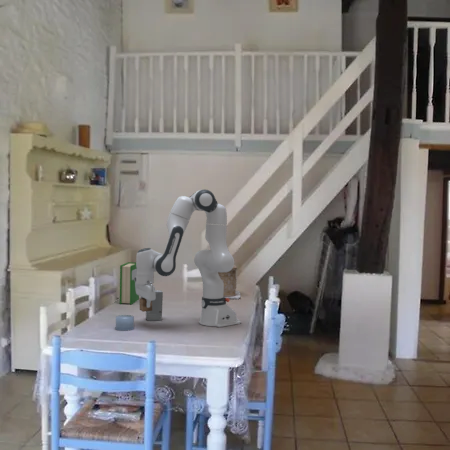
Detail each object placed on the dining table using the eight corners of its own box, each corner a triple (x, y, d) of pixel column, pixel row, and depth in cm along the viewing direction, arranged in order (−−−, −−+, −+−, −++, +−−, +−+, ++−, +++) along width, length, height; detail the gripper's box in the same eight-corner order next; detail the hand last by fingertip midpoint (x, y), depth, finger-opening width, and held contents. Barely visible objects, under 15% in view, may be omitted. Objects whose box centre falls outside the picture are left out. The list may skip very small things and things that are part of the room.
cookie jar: (240, 299, 359) (241, 251, 357) (203, 298, 359) (204, 250, 358) (240, 293, 384) (241, 248, 382) (205, 292, 384) (206, 247, 382)
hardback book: (131, 304, 334) (131, 265, 333) (119, 304, 335) (120, 265, 334) (138, 299, 352) (139, 262, 351) (127, 298, 353) (128, 262, 351)
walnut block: (148, 308, 285) (148, 297, 285) (152, 310, 281) (151, 299, 280) (139, 309, 283) (139, 298, 282) (143, 311, 278) (142, 300, 278)
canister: (130, 325, 281) (130, 314, 281) (136, 329, 273) (136, 318, 272) (112, 327, 276) (112, 315, 276) (118, 331, 268) (118, 319, 268)
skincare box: (147, 321, 291) (147, 291, 291) (145, 318, 298) (145, 289, 298) (162, 320, 294) (163, 291, 293) (160, 317, 301) (161, 289, 300)
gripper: (158, 282, 273) (159, 309, 274) (144, 276, 291) (144, 301, 292) (146, 283, 270) (147, 310, 271) (132, 277, 288) (133, 303, 289)
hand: (145, 306), depth 282 cm, fingers closed on walnut block, 5 cm apart
